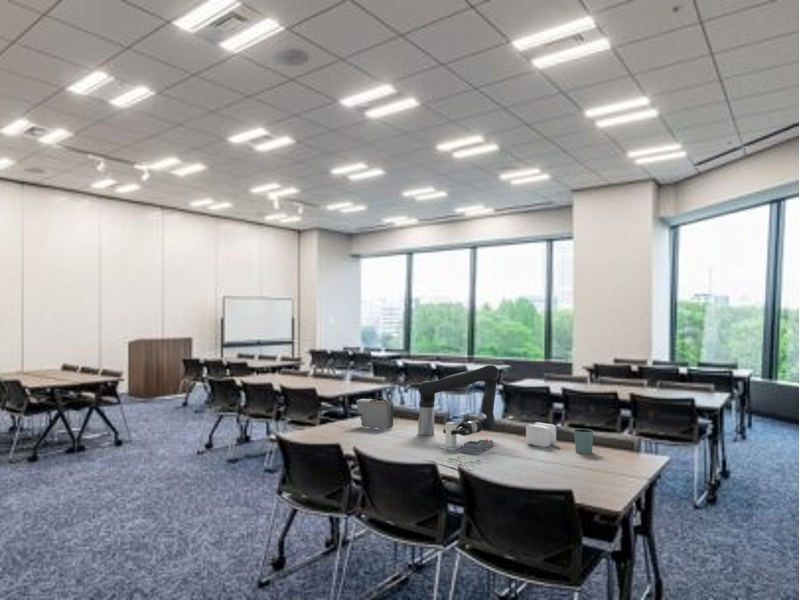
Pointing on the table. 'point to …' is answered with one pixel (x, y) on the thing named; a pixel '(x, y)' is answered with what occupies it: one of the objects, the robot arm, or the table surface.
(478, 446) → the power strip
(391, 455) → the table surface
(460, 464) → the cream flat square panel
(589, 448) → the teal cup
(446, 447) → the mat
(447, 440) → the block
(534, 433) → the cable organizer
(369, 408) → the grey boxy piece
